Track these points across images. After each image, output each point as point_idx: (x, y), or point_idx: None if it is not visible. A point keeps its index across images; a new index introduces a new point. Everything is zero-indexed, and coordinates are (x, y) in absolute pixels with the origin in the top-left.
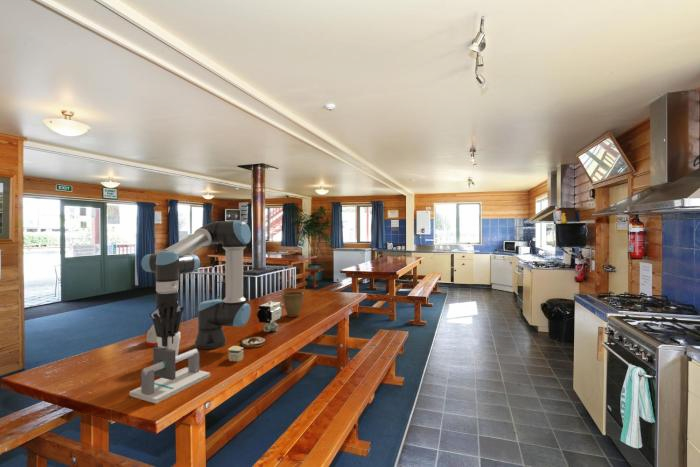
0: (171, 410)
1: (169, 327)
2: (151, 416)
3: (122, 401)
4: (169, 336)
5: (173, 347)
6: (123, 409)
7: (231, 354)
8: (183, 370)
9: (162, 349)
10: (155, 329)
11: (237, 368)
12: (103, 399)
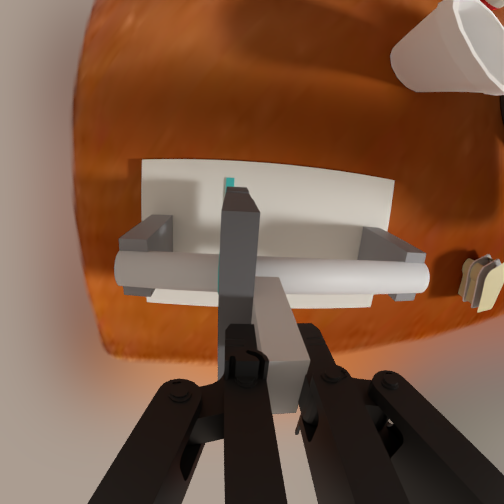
0: (151, 356)
1: (323, 473)
2: (110, 334)
3: (113, 178)
4: (294, 395)
5: (453, 84)
6: (88, 233)
7: (475, 280)
8: (368, 197)
9: (220, 321)
10: (117, 465)
11: (420, 326)
12: (102, 105)
